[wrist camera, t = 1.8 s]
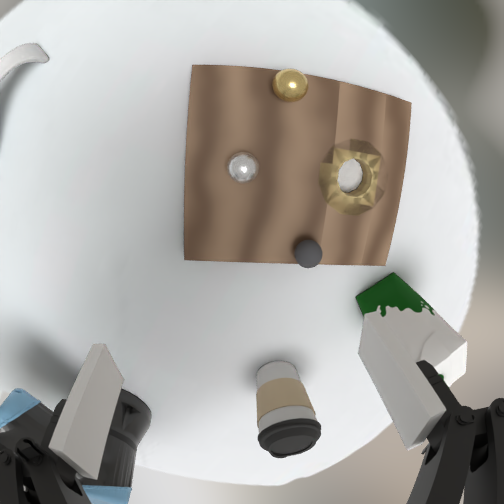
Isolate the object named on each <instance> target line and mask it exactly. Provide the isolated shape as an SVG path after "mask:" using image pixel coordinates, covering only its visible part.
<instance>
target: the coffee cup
mask: <svg viewBox="0 0 504 504" xmlns="http://www.w3.org/2000/svg"><path fill="white" fill-rule="evenodd" d="M256 397H257V425H258V428H259V435H258V441H259V444H260V446H261V447H262V448H263V449H264V450H266V451H269V453H270V454H271V455H272V456H273V457H276V458H285V457H287V456H291V455H296V454H300V453H303V452H305V451H307V450H309V449H311V448H312V447H313V446H314V445H315V444H316V441H317V440H318V439H319V438H320V436H321V431H320V430H321V425H320V423H319V422H318V421H317V419H316V417H315V411H314V409H313V407H312V404H311V402H310V400H309V397H308V395H307V393H306V390H305V388H304V386H303V384H302V383H301V381H300V378H299V376H298V373H297V371H296V368H295V367H294V366H293V365H292V364H291V363H288V362H285V361H275V362H271V363H268V364H266V365H264V366H262V367H261V368H260V369H259V370H258V372H257V394H256Z"/></svg>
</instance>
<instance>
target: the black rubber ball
mask: <svg viewBox="0 0 504 504" xmlns="http://www.w3.org/2000/svg"><path fill="white" fill-rule="evenodd" d="M294 255H295V259H296V261H297V263H298V264H299V265H301V266H302V267H305V268H312V267H315V266H316V265H318V264H319V263H320V261H321V259H322V249H321V247H320V245H319V244H318V243H317V242H315V241H313V240H304V241H302V242H300V243H299V244H298V245H297V246H296V248H295V253H294Z"/></svg>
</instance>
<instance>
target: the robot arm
mask: <svg viewBox="0 0 504 504" xmlns="http://www.w3.org/2000/svg"><path fill="white" fill-rule="evenodd" d="M358 354H359V356H360V358H361V360H362V362H363V364H364V366H365V368H366V369H367V371H368V373H369V375H370V377H371V379H372V381H373V383H374V385H375V387H376V389H377V391H378V392H379V394H380V396H381V398H382V400H383V402H384V404H385V406H386V408H387V410H388V412H389V414H390V416H391V418H392V420H393V422H394V424H395V427H396V428H397V430H398V433H399V434H400V437H401V439H402V441H403V443H404V445H405V447H406V449H407V450H410V449H412V448H415V447H417V446H419V445H421V444H422V443H423V442H424V441H425V439H426V438H427V439H428V441H429V444H428V445H427V446H426V448H425V449H424V450H423V452H422V454H424V453H425V452H426V453H425V456H424V459H423V462H422V465H421V468H420V471H419V474H418V477H417V479H416V482H415V485H414V487H413V490H412V492H411V495H410V497H409V500H408V502H407V504H459V503H460V499H461V496H462V493H463V489H464V488H465V489H464V503H463V504H504V398H498V399H496V400H494V401H493V402H492V403H491V405H490V406H489V407H486V408H481V409H477V410H472V409H471V408H470V407H467V406H461V405H460V404H459V402H458V401H457V400H456V398H455V397H454V395H453V394H452V392H451V391H450V389H449V388H448V386H447V385H446V383H445V382H443V379H442V378H441V376H440V375H438V372H437V371H436V369H435V368H434V367H433V365H431V364H430V363H428V362H427V361H425V360H421V361H419V362H416V363H415V361H414V360H413V358H412V357H411V356H410V354H409V353H408V351H407V350H406V349H405V347H404V346H403V344H402V343H401V342H400V340H399V339H398V337H397V336H396V335H395V333H394V332H393V331H392V329H391V328H390V326H389V325H388V324H387V322H386V321H385V320H384V318H383V317H382V316H381V314H380V313H379V312H378V311H375V312H371V313H366V314H364V321H363V327H362V334H361V339H360V345H359V351H358ZM123 381H124V379H123V377H122V375H121V373H120V371H119V370H118V368H117V366H116V364H115V362H114V360H113V358H112V356H111V354H110V353H109V351H108V349H107V347H106V345H105V344H93V345H92V347H91V349H90V351H89V353H88V355H87V357H86V360H85V362H84V364H83V366H82V368H81V370H80V372H79V374H78V376H77V378H76V381H75V383H74V385H73V387H72V390H71V392H70V394H69V396H68V399H67V400H66V399H62V400H61V401H60V402H59V403H58V405H57V406H56V407H55V410H54V412H53V411H51V410H50V409H49V408H47V407H46V406H45V405H43V404H42V403H41V401H40V400H37V399H36V398H34V397H33V396H32V395H30V394H29V393H28V392H26V391H25V390H23V389H20V388H17V389H14V390H13V391H12V392H11V393H10V395H9V396H8V397H7V398H6V400H5V401H4V402H3V404H2V405H1V406H0V504H128V501H129V497H130V493H131V490H132V488H131V486H132V478H133V470H134V464H135V457H136V451H137V446H138V444H139V443H140V441H141V440H142V438H143V436H144V435H145V433H146V432H147V430H148V429H149V427H150V422H151V412H150V410H149V408H148V407H147V406H146V405H145V404H144V403H143V402H142V401H141V400H140V399H139V398H137V397H136V396H134V395H132V394H131V393H129V392H127V391H124V390H122V389H121V388H122V384H123ZM464 486H465V487H464Z"/></svg>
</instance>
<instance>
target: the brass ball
mask: <svg viewBox="0 0 504 504" xmlns="http://www.w3.org/2000/svg"><path fill="white" fill-rule="evenodd" d="M272 87H273V91H274V93H275V94H276V96H277V97H278V98H280V99H281V100H283V101H286V102H296V101H299V100H301V99H302V98H303V97H304V96H305V95H306V94H307V92H308V88H309V85H308V81H307V78H306V77H305V75H304V74H303V73H301V72H300V71H298V70H295V69H284V70H282V71H280V72H278V73H277V74H276V75H275V77H274V79H273V82H272Z"/></svg>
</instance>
